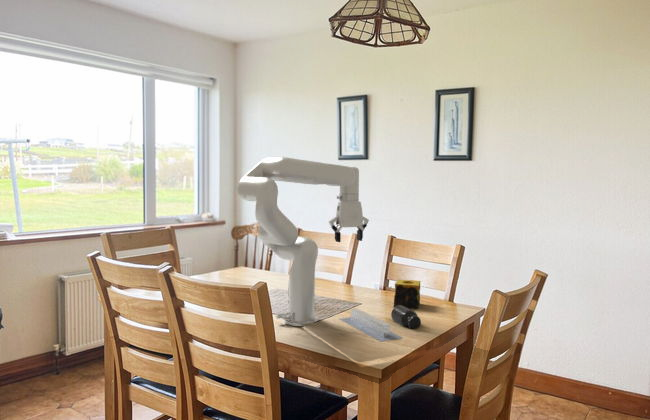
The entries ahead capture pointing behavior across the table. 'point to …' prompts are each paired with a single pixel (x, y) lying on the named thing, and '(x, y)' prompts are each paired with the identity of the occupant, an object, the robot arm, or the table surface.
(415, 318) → the supplement bottle
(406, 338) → the table surface
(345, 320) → the board
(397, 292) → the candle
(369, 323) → the metal bar
